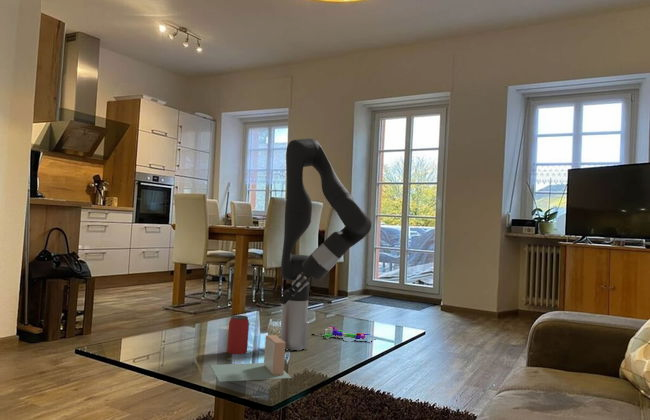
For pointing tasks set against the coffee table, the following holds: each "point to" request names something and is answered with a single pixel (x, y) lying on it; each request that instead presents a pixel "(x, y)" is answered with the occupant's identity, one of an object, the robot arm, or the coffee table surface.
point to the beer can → (238, 335)
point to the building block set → (333, 331)
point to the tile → (274, 354)
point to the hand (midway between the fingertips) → (281, 302)
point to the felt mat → (244, 372)
